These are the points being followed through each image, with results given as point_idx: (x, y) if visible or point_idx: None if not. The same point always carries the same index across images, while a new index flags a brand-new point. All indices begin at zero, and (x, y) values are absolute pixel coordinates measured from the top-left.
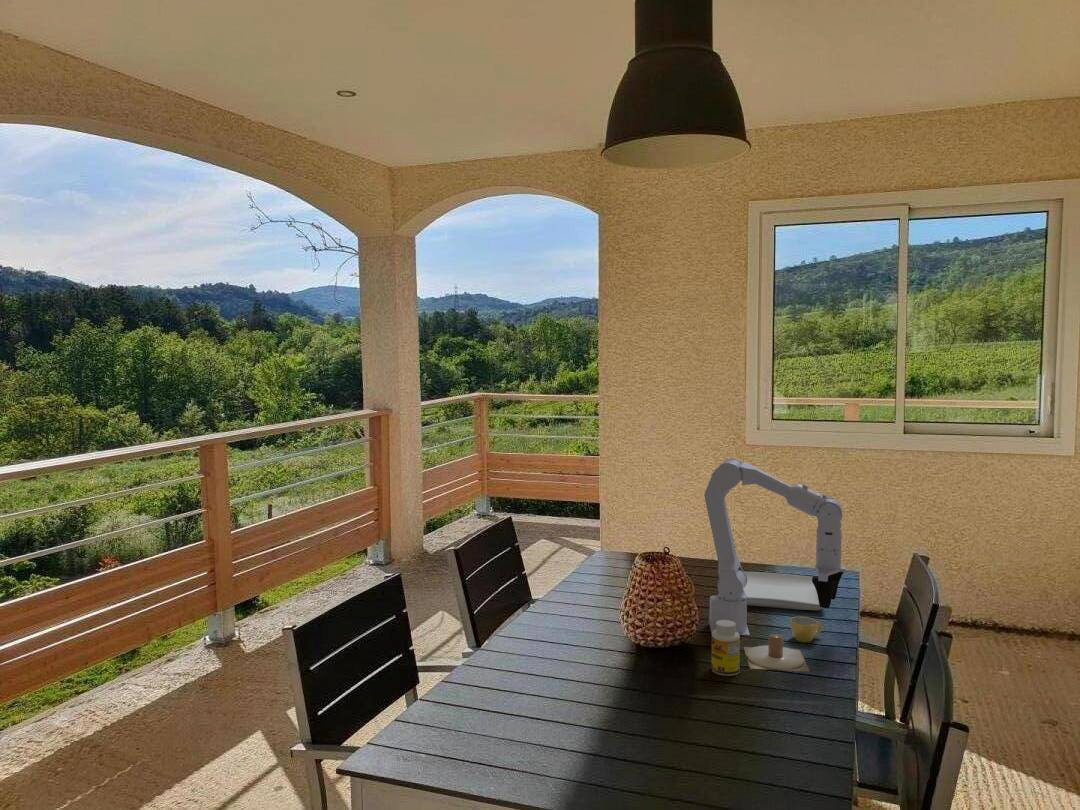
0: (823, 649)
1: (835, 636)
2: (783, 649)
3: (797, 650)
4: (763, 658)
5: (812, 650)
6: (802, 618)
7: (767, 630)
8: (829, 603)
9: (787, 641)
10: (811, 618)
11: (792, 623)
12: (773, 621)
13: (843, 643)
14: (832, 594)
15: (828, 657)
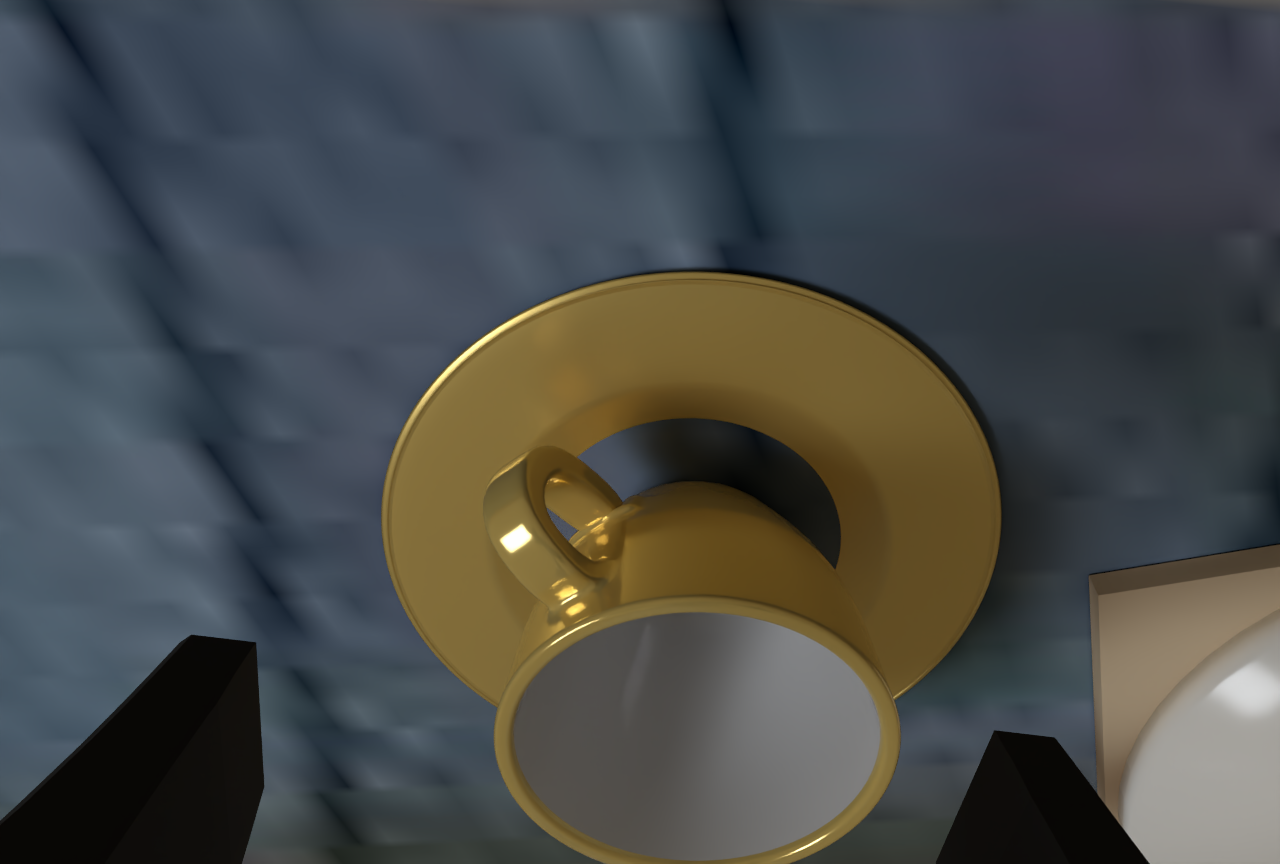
0: (926, 337)
1: (319, 197)
2: (1238, 749)
3: (1132, 611)
4: None
5: (996, 454)
6: (521, 751)
7: (494, 841)
8: (1132, 841)
9: None
10: (536, 675)
11: (806, 839)
12: None
13: (581, 81)
14: (211, 782)
15: (1226, 273)
